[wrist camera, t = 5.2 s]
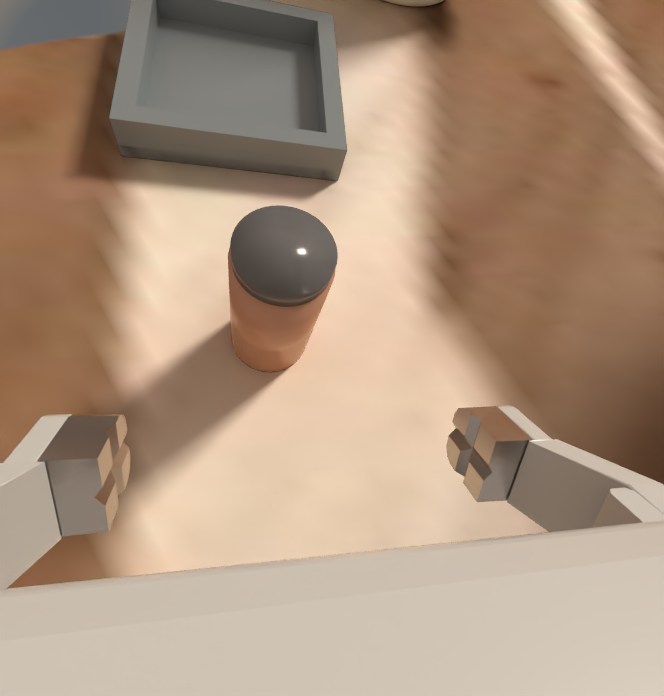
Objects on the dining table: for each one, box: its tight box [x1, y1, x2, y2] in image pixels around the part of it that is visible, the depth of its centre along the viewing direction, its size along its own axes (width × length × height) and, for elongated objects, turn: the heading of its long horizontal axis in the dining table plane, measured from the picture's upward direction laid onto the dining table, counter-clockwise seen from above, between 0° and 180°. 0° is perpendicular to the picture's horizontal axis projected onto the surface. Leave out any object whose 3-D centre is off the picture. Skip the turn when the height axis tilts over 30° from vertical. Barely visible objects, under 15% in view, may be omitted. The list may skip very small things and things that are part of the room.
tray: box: [109, 0, 347, 181], centre depth 26 cm, size 13×13×2 cm
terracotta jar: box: [228, 206, 337, 372], centre depth 18 cm, size 4×4×8 cm
